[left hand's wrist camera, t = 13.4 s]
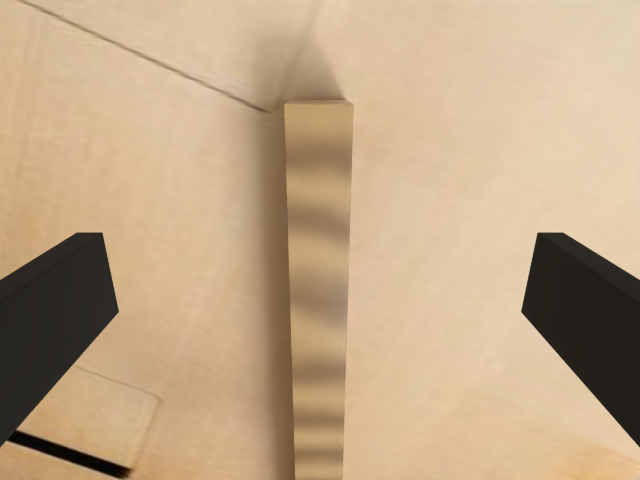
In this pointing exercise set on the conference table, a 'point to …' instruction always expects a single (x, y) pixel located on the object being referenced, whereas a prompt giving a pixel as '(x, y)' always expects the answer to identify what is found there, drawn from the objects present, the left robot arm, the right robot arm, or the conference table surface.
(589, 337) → the left robot arm
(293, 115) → the beam
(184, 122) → the conference table surface
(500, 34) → the conference table surface
